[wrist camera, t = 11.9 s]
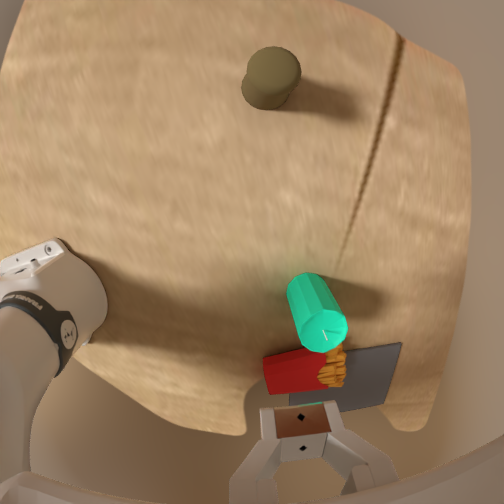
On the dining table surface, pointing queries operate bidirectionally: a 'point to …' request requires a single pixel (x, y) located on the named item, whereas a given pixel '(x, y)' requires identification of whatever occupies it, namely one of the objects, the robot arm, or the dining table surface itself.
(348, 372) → the mat
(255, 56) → the cork
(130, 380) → the dining table surface
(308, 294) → the candle
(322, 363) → the french fries
